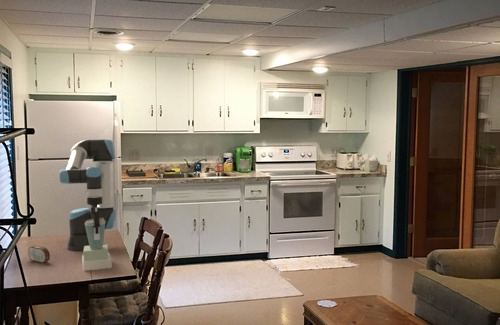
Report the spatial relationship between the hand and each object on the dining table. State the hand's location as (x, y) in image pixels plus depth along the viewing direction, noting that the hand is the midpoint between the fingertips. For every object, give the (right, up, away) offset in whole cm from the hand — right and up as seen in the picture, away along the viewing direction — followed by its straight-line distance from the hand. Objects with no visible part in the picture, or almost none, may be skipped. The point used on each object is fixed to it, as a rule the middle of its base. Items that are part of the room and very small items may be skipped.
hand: (95, 236), depth 269 cm
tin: (-33, -15, +9) cm, 38 cm away
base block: (0, -16, +1) cm, 16 cm away
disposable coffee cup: (0, -6, +1) cm, 6 cm away
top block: (0, -11, +1) cm, 11 cm away
